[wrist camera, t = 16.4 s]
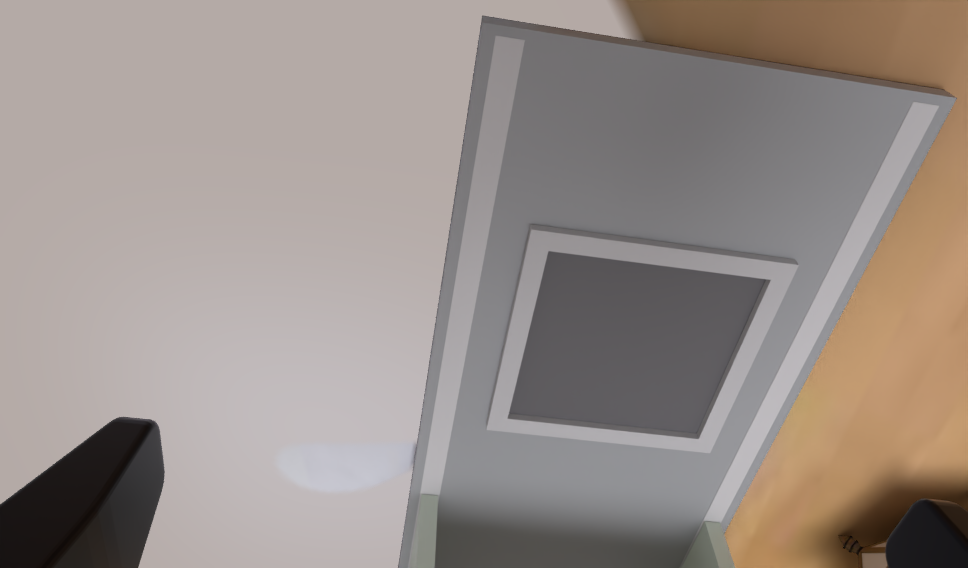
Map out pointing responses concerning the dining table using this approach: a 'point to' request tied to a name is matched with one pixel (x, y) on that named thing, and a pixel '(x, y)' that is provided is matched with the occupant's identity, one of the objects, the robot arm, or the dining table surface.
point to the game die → (867, 552)
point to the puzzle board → (640, 286)
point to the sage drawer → (703, 564)
